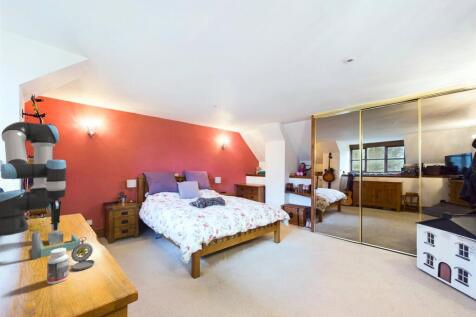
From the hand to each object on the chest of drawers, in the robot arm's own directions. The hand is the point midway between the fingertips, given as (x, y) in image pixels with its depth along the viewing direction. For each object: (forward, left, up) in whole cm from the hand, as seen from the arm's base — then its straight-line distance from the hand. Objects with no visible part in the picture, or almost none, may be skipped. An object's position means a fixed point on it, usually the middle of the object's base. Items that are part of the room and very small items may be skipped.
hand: (54, 236), depth 105 cm
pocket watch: (+44, +4, -2) cm, 44 cm away
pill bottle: (+50, -4, -2) cm, 50 cm away
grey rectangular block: (+4, 0, -2) cm, 5 cm away
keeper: (+16, -1, -2) cm, 16 cm away
